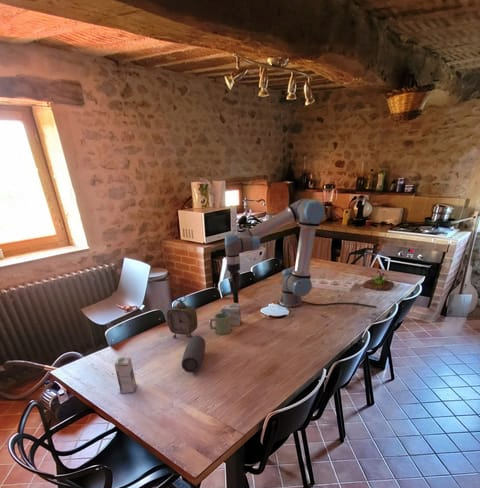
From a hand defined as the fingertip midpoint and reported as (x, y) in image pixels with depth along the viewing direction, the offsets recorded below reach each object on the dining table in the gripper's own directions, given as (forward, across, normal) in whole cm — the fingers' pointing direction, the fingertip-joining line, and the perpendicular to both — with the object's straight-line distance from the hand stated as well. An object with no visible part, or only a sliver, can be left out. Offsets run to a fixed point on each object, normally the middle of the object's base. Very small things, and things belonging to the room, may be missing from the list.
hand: (236, 302), depth 216 cm
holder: (+12, -79, +40) cm, 89 cm away
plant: (+13, -83, +80) cm, 115 cm away
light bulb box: (+11, +8, -1) cm, 13 cm away
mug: (+10, +20, -3) cm, 22 cm away
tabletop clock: (+10, +31, -20) cm, 38 cm away
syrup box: (+10, +86, -18) cm, 89 cm away
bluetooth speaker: (+10, +57, 0) cm, 58 cm away
